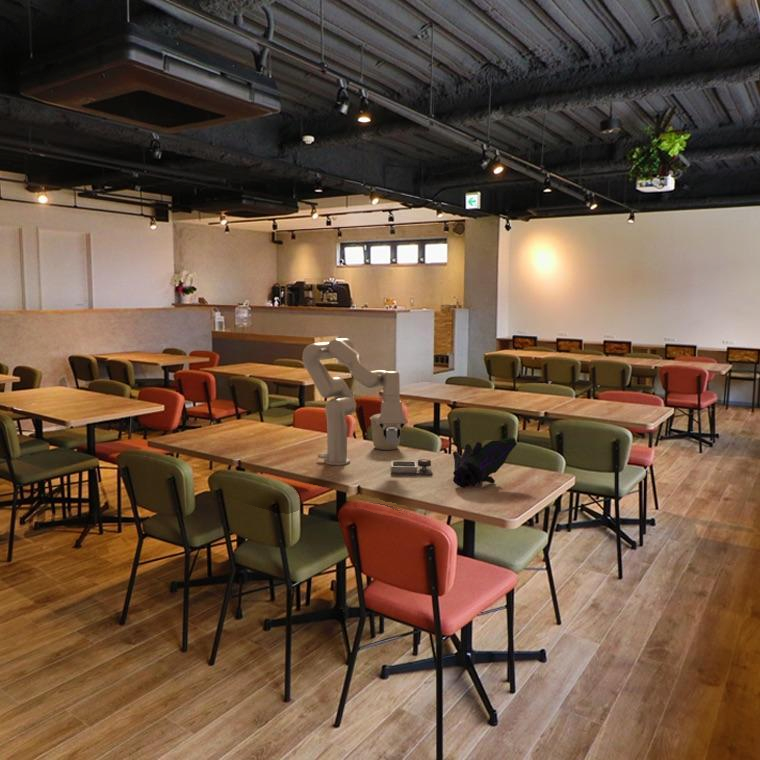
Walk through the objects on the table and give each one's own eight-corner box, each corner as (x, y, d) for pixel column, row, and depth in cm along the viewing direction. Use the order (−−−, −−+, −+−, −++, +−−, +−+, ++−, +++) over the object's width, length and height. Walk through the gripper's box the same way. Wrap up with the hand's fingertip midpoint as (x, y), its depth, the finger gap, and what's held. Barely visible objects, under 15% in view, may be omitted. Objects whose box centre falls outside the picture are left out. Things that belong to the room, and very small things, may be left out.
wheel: (418, 466, 288) (418, 462, 288) (417, 463, 294) (417, 459, 294) (431, 466, 288) (431, 462, 288) (430, 463, 294) (430, 459, 294)
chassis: (390, 475, 286) (390, 467, 285) (390, 468, 298) (390, 460, 297) (432, 475, 286) (432, 467, 285) (430, 468, 298) (431, 461, 297)
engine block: (386, 443, 287) (386, 429, 287) (386, 441, 293) (386, 426, 293) (397, 443, 287) (397, 428, 286) (397, 441, 293) (397, 426, 292)
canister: (363, 450, 332) (364, 410, 330) (377, 443, 349) (377, 405, 346) (395, 453, 326) (396, 413, 323) (407, 446, 342) (408, 408, 340)
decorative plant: (453, 506, 273) (481, 473, 296) (503, 494, 256) (528, 460, 280) (431, 464, 271) (461, 434, 294) (481, 450, 254) (508, 419, 278)
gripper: (372, 399, 284) (373, 439, 286) (410, 399, 284) (410, 439, 286) (373, 397, 292) (373, 436, 294) (410, 397, 291) (410, 435, 293)
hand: (392, 437), depth 290 cm, fingers closed on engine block, 5 cm apart
